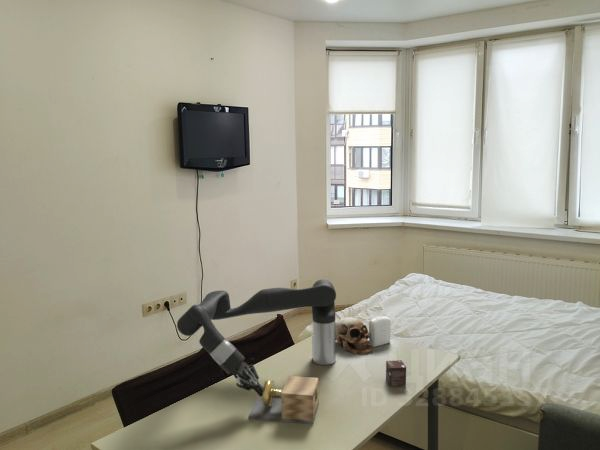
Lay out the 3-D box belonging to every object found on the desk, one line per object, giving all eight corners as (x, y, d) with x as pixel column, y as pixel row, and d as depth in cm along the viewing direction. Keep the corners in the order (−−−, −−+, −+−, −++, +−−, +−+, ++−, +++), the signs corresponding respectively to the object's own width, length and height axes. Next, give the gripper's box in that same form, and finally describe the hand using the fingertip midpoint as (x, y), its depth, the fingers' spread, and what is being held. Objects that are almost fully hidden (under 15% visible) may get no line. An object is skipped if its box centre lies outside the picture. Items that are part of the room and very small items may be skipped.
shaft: (263, 410, 155) (262, 387, 154) (269, 398, 162) (268, 375, 161) (312, 414, 152) (312, 390, 151) (316, 401, 159) (316, 379, 158)
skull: (370, 354, 201) (367, 323, 200) (330, 355, 205) (327, 324, 204) (375, 342, 216) (372, 312, 214) (337, 342, 220) (334, 314, 219)
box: (385, 379, 179) (385, 360, 178) (401, 378, 179) (401, 359, 178) (389, 387, 173) (390, 367, 172) (406, 386, 173) (406, 366, 172)
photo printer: (373, 348, 208) (373, 320, 206) (367, 344, 212) (367, 317, 210) (392, 343, 213) (392, 316, 211) (385, 339, 217) (385, 313, 215)
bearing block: (248, 418, 154) (247, 390, 153) (258, 399, 166) (257, 373, 164) (313, 423, 150) (312, 395, 149) (318, 404, 162) (318, 377, 160)
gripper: (226, 355, 166) (261, 391, 165) (212, 372, 153) (250, 411, 152) (240, 341, 164) (276, 378, 163) (227, 357, 151) (266, 397, 150)
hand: (263, 394), depth 158 cm, fingers closed
